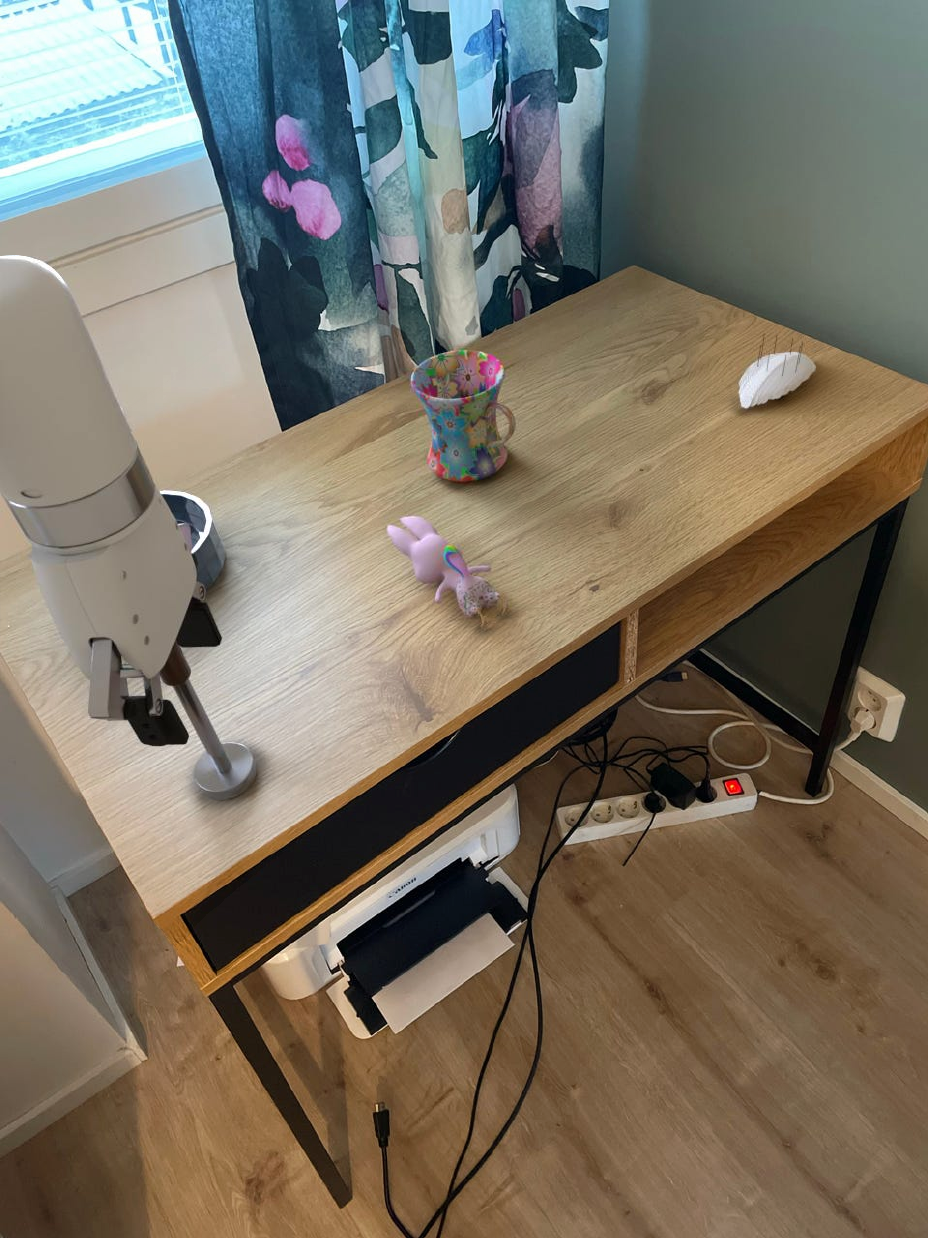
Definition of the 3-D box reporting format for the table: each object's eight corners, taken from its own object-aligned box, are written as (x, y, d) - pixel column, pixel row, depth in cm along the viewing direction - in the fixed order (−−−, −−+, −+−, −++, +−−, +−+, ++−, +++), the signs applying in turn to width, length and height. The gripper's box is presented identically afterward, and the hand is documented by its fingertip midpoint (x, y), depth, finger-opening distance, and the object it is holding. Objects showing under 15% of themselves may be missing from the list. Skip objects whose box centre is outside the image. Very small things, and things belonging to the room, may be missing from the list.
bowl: (156, 640, 81) (135, 601, 78) (64, 593, 87) (41, 555, 84) (254, 553, 88) (240, 514, 85) (163, 515, 94) (146, 476, 91)
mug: (407, 467, 96) (391, 379, 88) (468, 427, 100) (458, 340, 92) (486, 512, 89) (476, 421, 81) (549, 467, 93) (545, 376, 85)
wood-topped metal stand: (228, 810, 68) (160, 682, 57) (186, 784, 70) (112, 656, 59) (269, 765, 70) (210, 635, 59) (227, 742, 72) (163, 612, 61)
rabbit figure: (522, 614, 81) (421, 519, 88) (526, 571, 76) (419, 474, 83) (469, 650, 78) (369, 549, 85) (469, 608, 73) (363, 505, 80)
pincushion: (783, 354, 103) (790, 308, 99) (831, 371, 100) (841, 324, 96) (719, 400, 98) (725, 353, 94) (768, 420, 95) (775, 372, 91)
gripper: (75, 407, 56) (169, 603, 69) (-51, 603, 44) (90, 797, 57) (189, 401, 56) (264, 600, 68) (91, 599, 44) (203, 797, 56)
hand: (184, 689), depth 62 cm, fingers open, 8 cm apart
